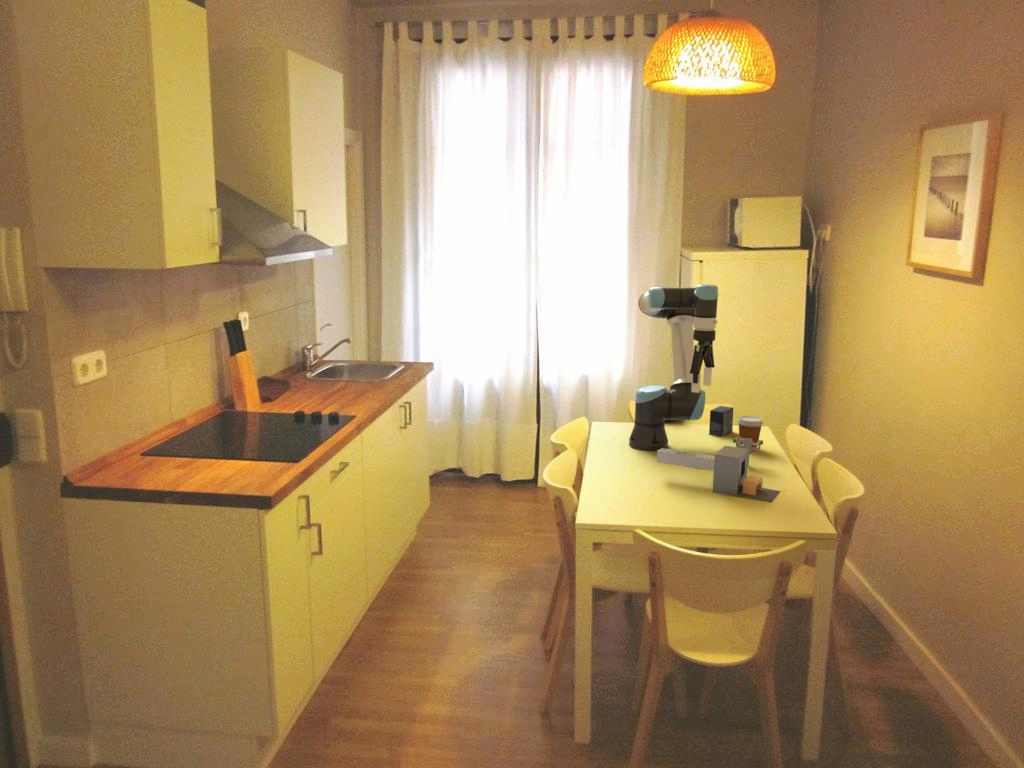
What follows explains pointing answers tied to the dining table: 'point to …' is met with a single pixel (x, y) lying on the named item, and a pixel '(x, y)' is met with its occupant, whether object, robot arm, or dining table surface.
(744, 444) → the mechanical component
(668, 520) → the dining table surface
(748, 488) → the block
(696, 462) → the shaft
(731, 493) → the block
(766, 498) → the mat
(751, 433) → the disposable coffee cup
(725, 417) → the small box
